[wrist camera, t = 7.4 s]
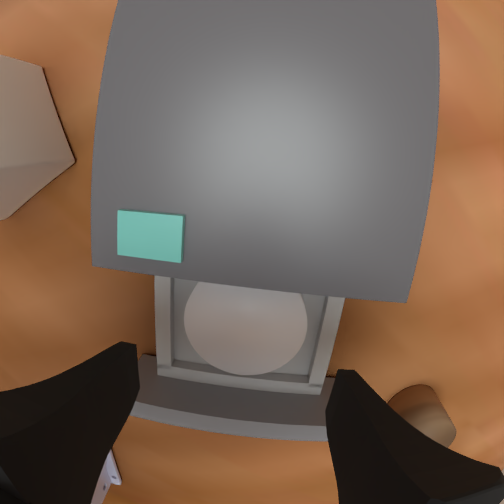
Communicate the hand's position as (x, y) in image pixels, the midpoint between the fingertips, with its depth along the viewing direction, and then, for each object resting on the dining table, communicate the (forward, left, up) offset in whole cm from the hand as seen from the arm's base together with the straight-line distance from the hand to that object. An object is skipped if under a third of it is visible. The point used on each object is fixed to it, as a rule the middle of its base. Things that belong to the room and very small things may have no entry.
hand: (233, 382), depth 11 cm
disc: (0, 0, -6) cm, 6 cm away
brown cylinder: (-7, -12, -7) cm, 15 cm away
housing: (+10, 0, -7) cm, 12 cm away
